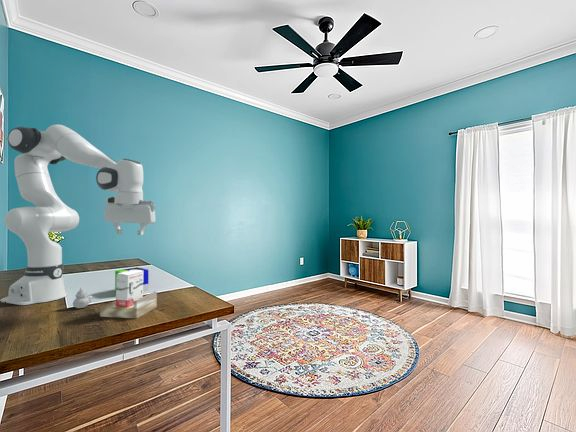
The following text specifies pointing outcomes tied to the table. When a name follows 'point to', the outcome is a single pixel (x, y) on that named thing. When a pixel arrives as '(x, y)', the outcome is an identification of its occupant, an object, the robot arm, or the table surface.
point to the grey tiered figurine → (82, 299)
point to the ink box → (129, 287)
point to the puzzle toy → (145, 277)
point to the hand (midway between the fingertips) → (129, 234)
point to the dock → (131, 308)
